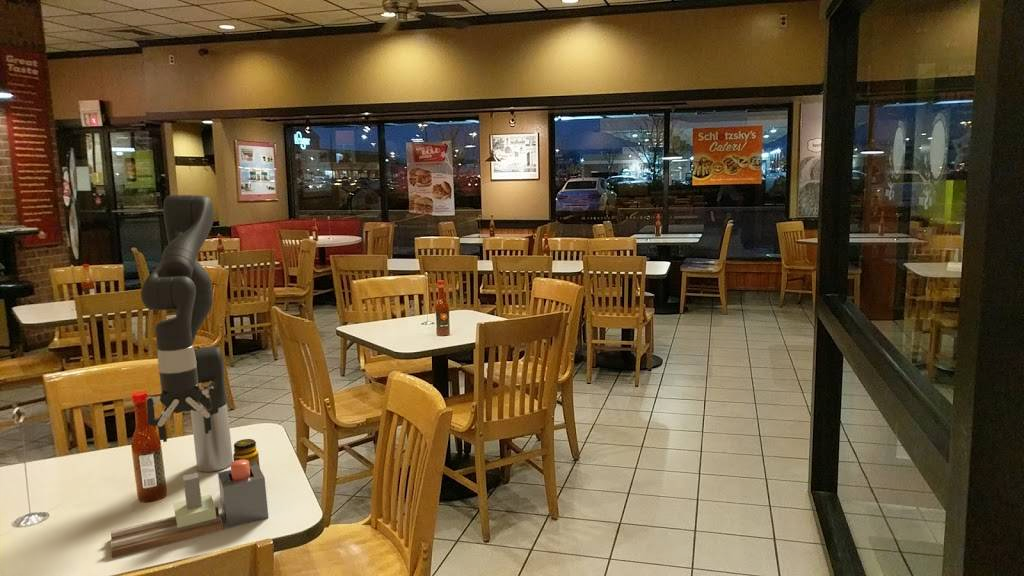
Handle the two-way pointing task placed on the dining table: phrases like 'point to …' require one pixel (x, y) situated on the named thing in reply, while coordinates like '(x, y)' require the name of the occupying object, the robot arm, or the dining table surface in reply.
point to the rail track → (158, 534)
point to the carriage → (194, 504)
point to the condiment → (246, 451)
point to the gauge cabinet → (243, 497)
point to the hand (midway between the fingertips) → (186, 436)
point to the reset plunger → (240, 470)
